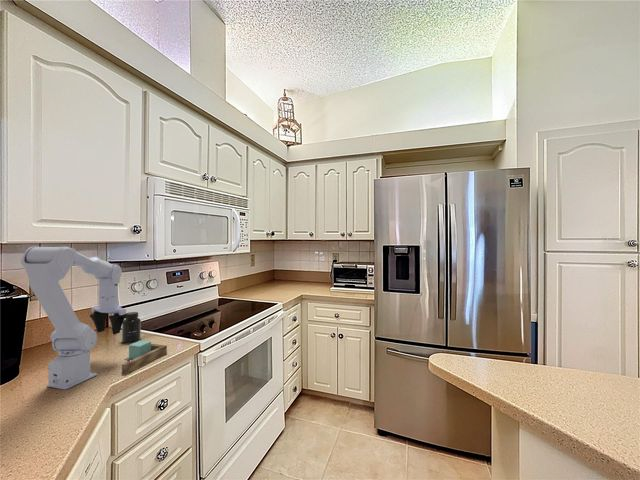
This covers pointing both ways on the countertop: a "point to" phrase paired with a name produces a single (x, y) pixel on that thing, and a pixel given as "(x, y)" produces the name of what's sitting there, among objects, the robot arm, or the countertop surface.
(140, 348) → the cube
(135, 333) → the supplement bottle
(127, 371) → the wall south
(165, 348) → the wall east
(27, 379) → the countertop surface
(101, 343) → the countertop surface
